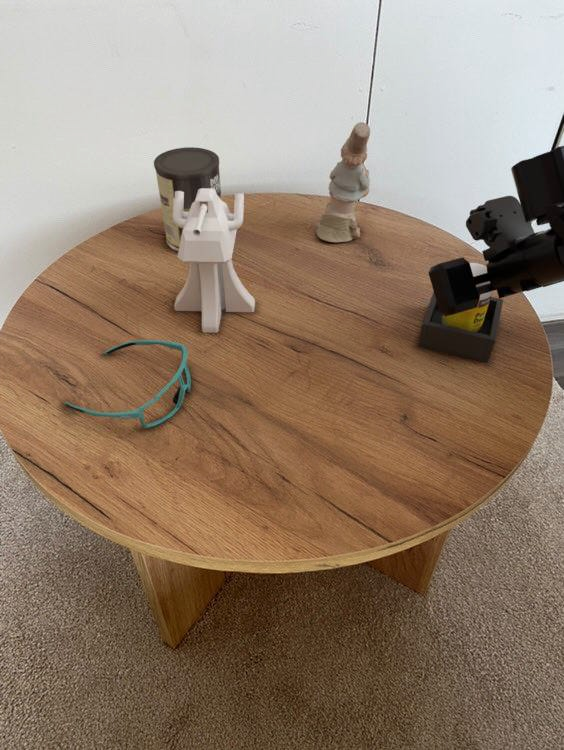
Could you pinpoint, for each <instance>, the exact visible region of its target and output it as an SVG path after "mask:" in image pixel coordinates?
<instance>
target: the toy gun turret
mask: <svg viewBox="0 0 564 750" xmlns="http://www.w3.org/2000/svg"><path fill="white" fill-rule="evenodd" d="M233 202H234V204H233V205H234V206H233V212H231V211H230V208H229V206H228V204H227V203H226V202H225V201H223V200H222V198H221V199H220V198H219V197H218V195H217V193H216V191H215V190H214V189H211V188H201V189H199V190H198V192H197V196H196V199H195V201H194V202H193V203H192V205H191V208H190V210H189V212H185V211H183V206H184V192H182V191H175V198H174V199H173V221H174V223H175V224H176V225H177V226H178V227H180V228H183V231H182V235H181V240H180V246H179V252H178V251H177V258H178V259H179V260H180V261H181V262H183V263H184V264H189V269H188V270H189V271H188V272H189V273H188V276H187V279H186V282H185V284H184V286H183V287H182V289H181V291H180V292H179V293H178V294H177V296H176V298H175V301H174V306H173V307H174V311H176V312H201V331H202V332H203V333H206V334H207V333H210V334H215V333H219V330H220V324H221V320H222V314H225V313H254V312H255V308H256V300H255V297H254V296H253V295H252V294H251V293H249V291H248V290H247V289H246V287H245V286H244V285H243V283H242V281H241V280H240V278H239V276H238V274H237V272H236V270H235V268H234V265H233V260H232V259H233V253H234V249H235V248H234V247H235V242H236V237H237V231H238V229H240V228H241V226H242V225H243V223H244V213H245V212H244V211H245V203H244V202H245V194H244V193H243V192H235V193H234V201H233Z"/></svg>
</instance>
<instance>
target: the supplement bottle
mask: <svg viewBox="0 0 564 750" xmlns="http://www.w3.org/2000/svg"><path fill="white" fill-rule="evenodd" d="M469 263H470V267H471V270H472V273H473V277H474V276H478V275H481V274H485V273H487V267H486V265H484V264H482V263H477V262H469ZM489 283H490V281H489V282H485V283H482V284H478V285H476V287H479V286H482V285H483V286H484V285H485V284H489ZM493 292H494V291H491V292H488V293H484V294H481V295H480V299H479V303H478V306H477V307H476V308H473V309H470V310H466V311H463V312H460V313H456V314H453V315H449V316H446V317H445V316H443V315H442V319H441V325H446V326H450V327H454V328H459V329H463V330H468V331H472V332H476V333H480V331H481V327H482V324H483V321H484V318H485V315H486V311H487V308H488V305H489V302H490V299H491V297H492V295H493Z"/></svg>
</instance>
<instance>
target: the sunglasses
mask: <svg viewBox="0 0 564 750" xmlns="http://www.w3.org/2000/svg"><path fill="white" fill-rule="evenodd" d="M154 345H159V346H163V347H167V348H168V349H171V350H177V351H180V352H181V362H180V365H179V367H178V369H177V371H176V373H175V375H173V377H172V379H170V381H169V382H168V383H167V384H166V385H165V386H164V387H163V388H162V389H161V390H160V391H159V392H158V393H157V394H155V396H154V397H153V398H152V399H151V400H149V401H148V402H146V403H145V404H143V405H141V406H139V407H138V408H137V409H135V410H128V411H127V410H126V411H119V412H100V411H94V410H90V409H87V408H83V407H80V406H77V405H74V404H71V403H70V402H68V401H64V404H65V405H66V406H67V407H68V408H70V409H72V410H74V411H76V412H79V413H83V414H86V415H88V416H91V417H92V416H93V417H103V418H114V419H120V420H130V419H138V420H139V423H140V425H141V426H142V427H143V428H144V429H150V428H153V427H156V426H157V425H160V424H162V423H164V422H166V421H167V420H169V419H170V418H172V417H173V416H174V415H175V414H176V413H177V412H178V411H179V410H180V408H181V406H182V404H183V401H184V398H185V394H186V393H190V391H191V386H192V385H191V383H192V382H191V381H192V380H191V379H192V378H191V375H190V374H191V373H190V370H189V367H188V364H187V360H188V354H189V352H188V349H187V347H186V345H185V344H184V343H179V342H176V341H175V342H174V341H169V340H155V339H154V340H153V339H147V340H143V339H142V340H139V339H137V340H131V341H127V342H123V343H121V344H119V345H116V346H113V347H112V348H109V349H108V350H106V351H103V354H104V355H106V356H108V355H111V354H113V353H115V352H118V351H120V350H122V349H125V348H126V349H127V348H128V347H129V348H130V347H133V346H154ZM183 371H184V373H185V377H186V378H185V379H186V383H185V381H184V379H183V375H182V373H183ZM176 381H178V384H179V386H178V389H177V390H176V392H175V394H173V398H172V403H173V404H175V405H176V406H175V407H174V408H173V409H172V410H171V411H170V412H169V413H168V414H167V415H165V416H164V417H162V418H160V419H157V420H156V421H154V422H151V423H146V421H145V417H144V410H145V409H146V408H148V407H150V406H151V405H153V404H154V403H156V402H158V401H159V399H160V397H161V396H162V395H164V394H166V392H167V391H168V390H169V389H170V388H171V387H172V386H173V385H174V384H175V383H176Z"/></svg>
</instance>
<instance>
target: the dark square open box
mask: <svg viewBox="0 0 564 750" xmlns="http://www.w3.org/2000/svg"><path fill="white" fill-rule="evenodd" d="M503 303H504V298H500V299H499V297H498V298H497V297H494V296H491V299H490V302H489V305H488V308H487V311H486V315H485V318H484V321H483V324H482V327H481V331H480V333H476V332H472V331H468V330H463V329H459V328H454V327H450V326H446V325H441V319H442V314H440V311H439V308H438V304H437V301H436V298H435V294H434V291H433V292H432V295H431V298H430V301H429V304H428V307H427V310H426V312H425V315H424V318H423V320H422V321H423V322H422V324H421V330H420V333H419V339H418V344H417V346H418V347H422V348H426V349H429V350H434V351H437V352H441V353H446V354H449V355H454V356H459V357H462V358H467V359H471V360H475V361H479V362H483V363H489V361H490V359H491V355H492V353H493V349H494V346H495V343H496V340H497V334H498V330H499V326H500V325H499V324H500V319H501V315H502V308H503Z"/></svg>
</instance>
